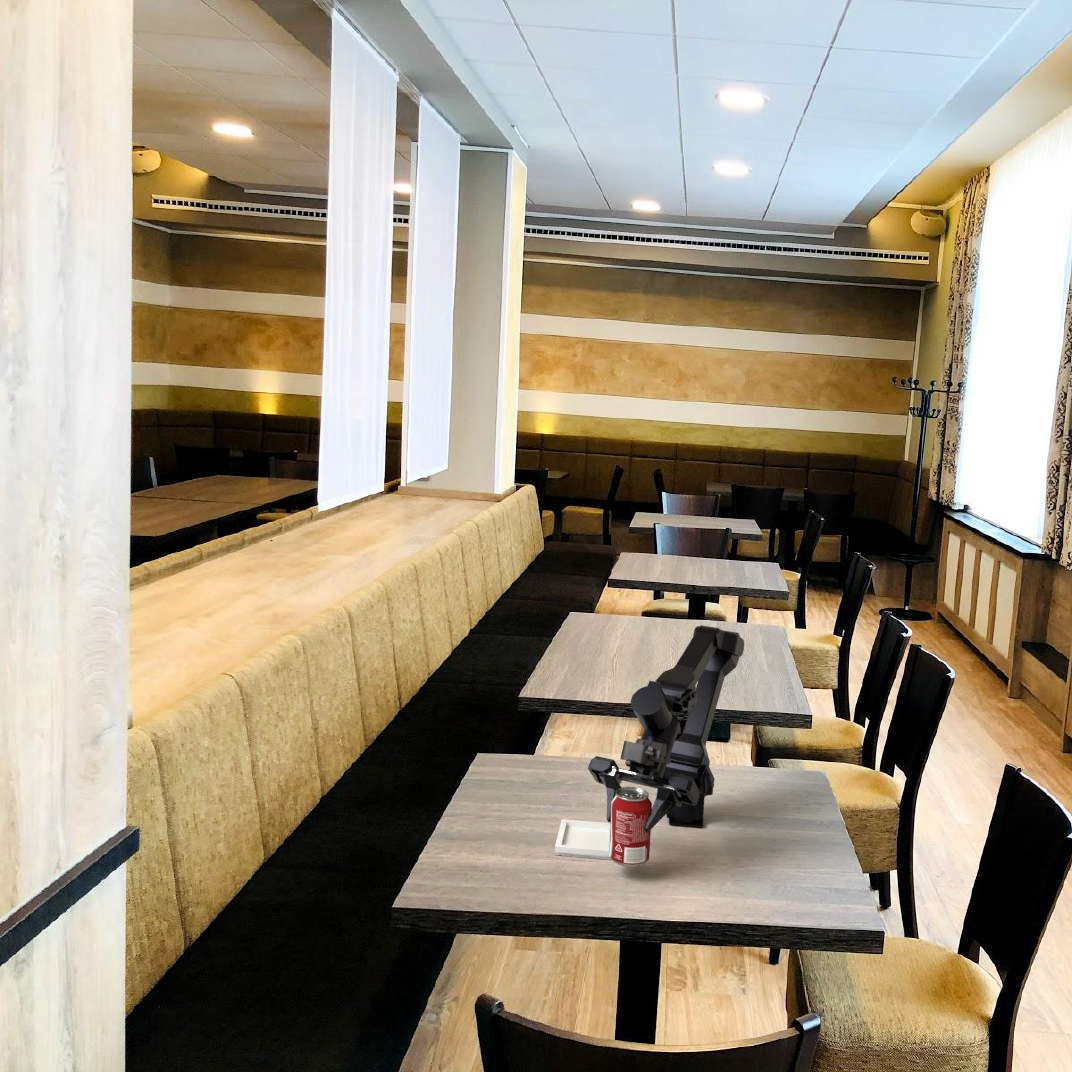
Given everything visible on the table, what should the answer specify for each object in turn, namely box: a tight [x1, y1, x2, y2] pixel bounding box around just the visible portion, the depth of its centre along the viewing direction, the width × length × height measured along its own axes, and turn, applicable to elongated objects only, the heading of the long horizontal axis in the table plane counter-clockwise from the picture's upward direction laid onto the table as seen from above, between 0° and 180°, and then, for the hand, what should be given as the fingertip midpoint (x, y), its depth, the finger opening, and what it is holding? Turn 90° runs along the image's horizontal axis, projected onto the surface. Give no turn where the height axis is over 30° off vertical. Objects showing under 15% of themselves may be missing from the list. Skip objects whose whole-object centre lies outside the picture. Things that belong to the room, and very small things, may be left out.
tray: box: [554, 818, 612, 861], centre depth 198 cm, size 12×12×2 cm
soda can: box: [609, 786, 653, 868], centre depth 185 cm, size 7×7×12 cm
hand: (627, 826), depth 184 cm, fingers closed on soda can, 6 cm apart
